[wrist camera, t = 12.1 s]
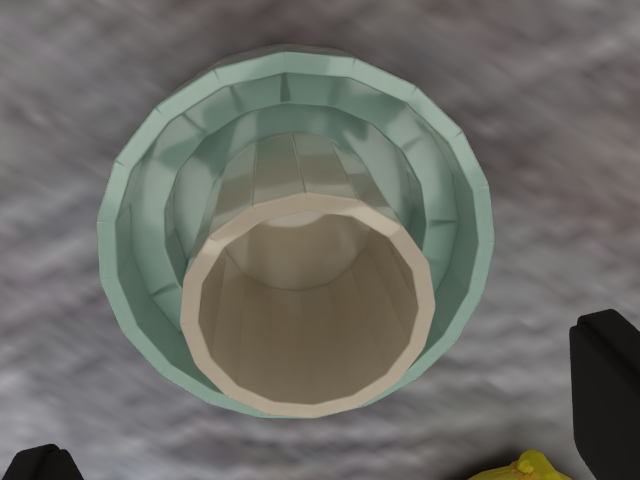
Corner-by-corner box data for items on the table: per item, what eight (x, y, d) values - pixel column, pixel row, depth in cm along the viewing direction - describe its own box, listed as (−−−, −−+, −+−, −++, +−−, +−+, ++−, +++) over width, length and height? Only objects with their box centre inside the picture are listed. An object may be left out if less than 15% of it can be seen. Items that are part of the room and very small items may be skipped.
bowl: (80, 91, 21) (27, 114, 16) (424, 6, 21) (470, 5, 16) (190, 375, 26) (174, 453, 21) (466, 307, 26) (510, 371, 21)
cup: (185, 155, 21) (144, 231, 14) (362, 112, 21) (413, 165, 14) (236, 310, 24) (223, 441, 17) (393, 271, 24) (449, 385, 17)
